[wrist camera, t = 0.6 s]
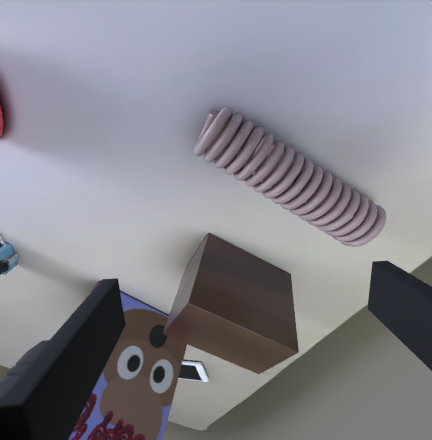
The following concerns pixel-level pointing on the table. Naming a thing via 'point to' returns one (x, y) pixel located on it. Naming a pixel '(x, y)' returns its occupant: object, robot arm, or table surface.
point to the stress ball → (1, 122)
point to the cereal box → (134, 380)
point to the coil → (289, 179)
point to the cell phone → (193, 371)
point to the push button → (7, 257)
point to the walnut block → (235, 307)
